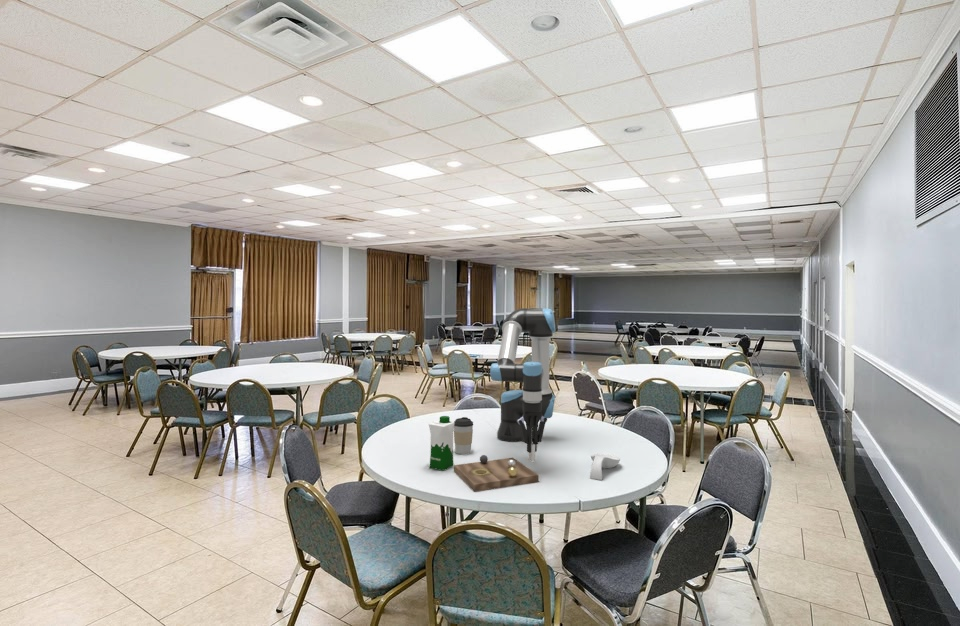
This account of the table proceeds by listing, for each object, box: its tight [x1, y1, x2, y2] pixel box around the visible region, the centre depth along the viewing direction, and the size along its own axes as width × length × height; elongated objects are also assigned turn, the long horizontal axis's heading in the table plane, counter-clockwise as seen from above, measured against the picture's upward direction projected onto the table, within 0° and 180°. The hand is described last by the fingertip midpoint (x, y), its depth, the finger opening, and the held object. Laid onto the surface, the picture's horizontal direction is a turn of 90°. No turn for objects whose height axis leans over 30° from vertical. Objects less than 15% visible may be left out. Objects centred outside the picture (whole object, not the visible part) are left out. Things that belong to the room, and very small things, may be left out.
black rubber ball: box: [479, 454, 489, 463], centre depth 193 cm, size 3×3×3 cm
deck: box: [453, 457, 540, 492], centre depth 185 cm, size 26×22×2 cm
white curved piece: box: [589, 453, 621, 481], centre depth 192 cm, size 24×12×7 cm, turn 155°
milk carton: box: [428, 415, 455, 471], centre depth 195 cm, size 9×9×20 cm
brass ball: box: [508, 467, 517, 477], centre depth 178 cm, size 4×4×4 cm
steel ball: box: [507, 459, 516, 467], centre depth 187 cm, size 3×3×3 cm
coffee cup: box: [453, 416, 474, 455], centre depth 215 cm, size 9×9×15 cm
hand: (531, 460), depth 191 cm, fingers closed
